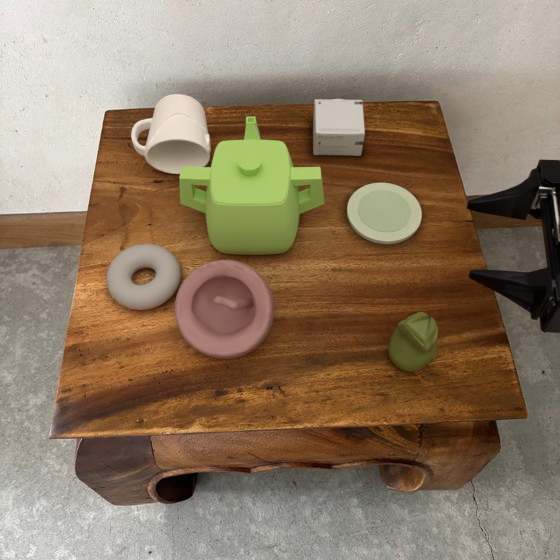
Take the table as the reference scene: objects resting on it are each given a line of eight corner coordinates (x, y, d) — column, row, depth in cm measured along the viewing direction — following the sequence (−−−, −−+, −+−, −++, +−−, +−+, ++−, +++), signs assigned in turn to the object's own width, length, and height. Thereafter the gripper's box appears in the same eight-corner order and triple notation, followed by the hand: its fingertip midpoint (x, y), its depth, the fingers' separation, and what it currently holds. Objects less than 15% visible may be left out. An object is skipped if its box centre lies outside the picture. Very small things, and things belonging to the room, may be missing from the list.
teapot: (193, 164, 87) (179, 99, 76) (319, 164, 87) (324, 99, 76) (181, 262, 77) (164, 203, 66) (323, 262, 77) (330, 203, 66)
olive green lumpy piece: (436, 360, 69) (458, 324, 61) (409, 386, 68) (427, 354, 59) (403, 330, 72) (420, 292, 63) (375, 355, 70) (388, 319, 61)
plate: (422, 191, 84) (424, 187, 83) (418, 249, 78) (419, 246, 77) (351, 181, 85) (351, 177, 84) (341, 238, 79) (342, 234, 79)
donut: (190, 302, 74) (173, 244, 79) (186, 290, 71) (169, 230, 76) (116, 323, 72) (104, 263, 77) (109, 312, 69) (97, 249, 74)
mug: (212, 131, 91) (207, 92, 84) (212, 173, 86) (206, 136, 79) (139, 134, 90) (128, 95, 84) (135, 177, 86) (123, 140, 79)
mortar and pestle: (172, 365, 69) (154, 325, 59) (196, 285, 75) (183, 236, 66) (266, 380, 68) (263, 342, 58) (282, 298, 74) (282, 250, 64)
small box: (312, 156, 88) (314, 132, 83) (312, 122, 92) (314, 97, 87) (361, 157, 88) (365, 133, 83) (359, 122, 92) (363, 98, 87)
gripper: (644, 121, 54) (478, 119, 57) (688, 281, 45) (486, 269, 47) (601, 195, 63) (461, 190, 66) (630, 341, 54) (465, 328, 57)
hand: (468, 238), depth 59 cm, fingers open, 9 cm apart
